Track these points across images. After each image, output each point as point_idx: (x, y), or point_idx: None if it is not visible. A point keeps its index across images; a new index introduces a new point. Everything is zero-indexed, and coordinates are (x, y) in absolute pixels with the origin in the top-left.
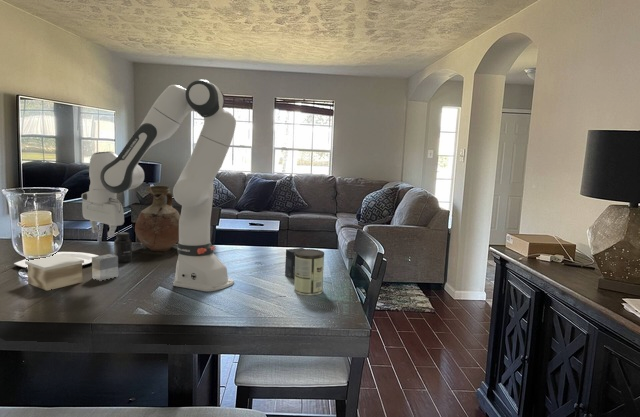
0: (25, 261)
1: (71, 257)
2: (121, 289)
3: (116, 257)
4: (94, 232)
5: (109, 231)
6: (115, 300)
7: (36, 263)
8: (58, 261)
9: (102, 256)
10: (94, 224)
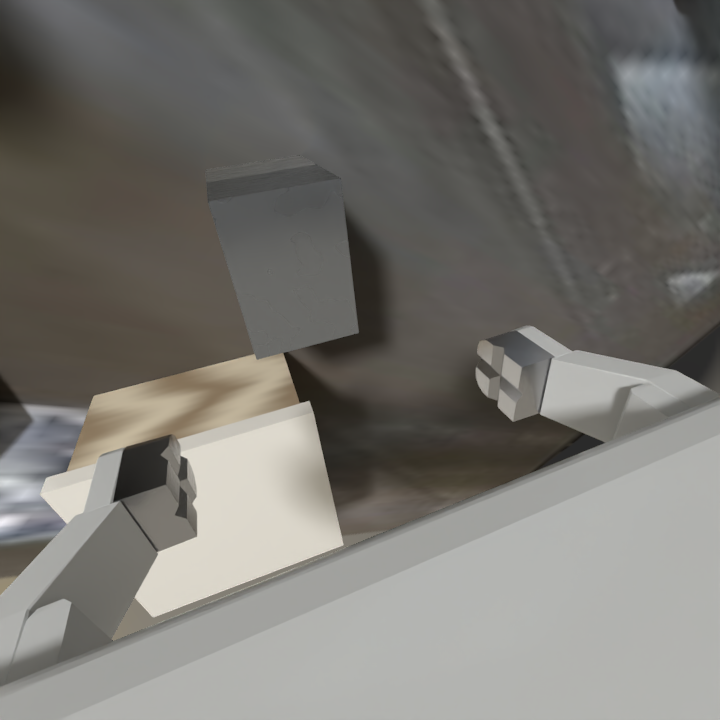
0: (158, 614)
1: (188, 460)
2: (502, 246)
3: (339, 192)
4: (191, 482)
5: (561, 415)
6: (572, 311)
7: (240, 576)
8: (259, 512)
9: (278, 291)
10: (96, 597)
